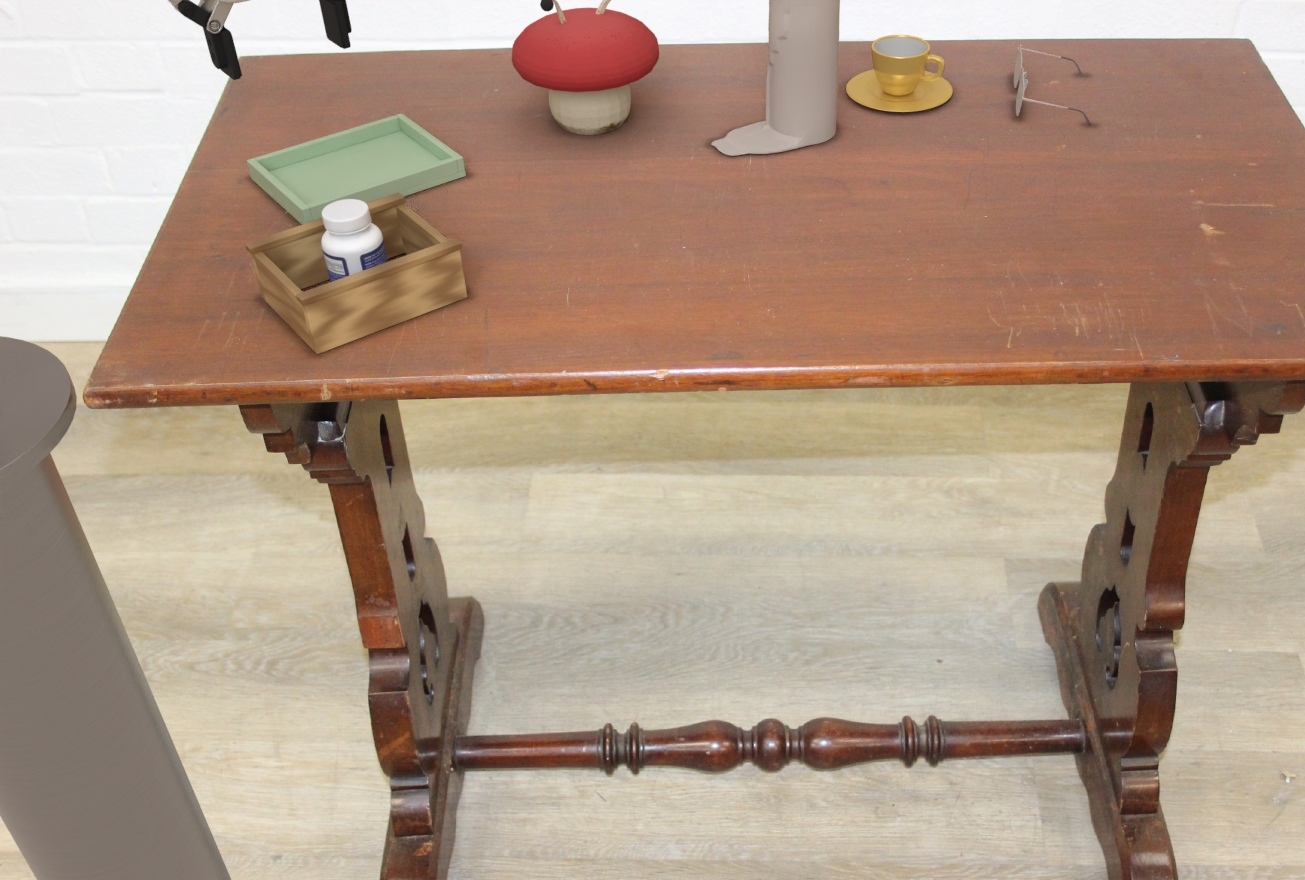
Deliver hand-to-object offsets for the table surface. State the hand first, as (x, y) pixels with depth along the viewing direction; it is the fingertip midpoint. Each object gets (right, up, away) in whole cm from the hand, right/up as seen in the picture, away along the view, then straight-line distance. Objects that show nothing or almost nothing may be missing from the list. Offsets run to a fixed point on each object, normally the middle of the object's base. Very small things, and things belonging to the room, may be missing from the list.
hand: (286, 58), depth 117 cm
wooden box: (+4, -19, +9) cm, 21 cm away
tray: (-2, -4, +27) cm, 28 cm away
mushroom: (+21, +5, +37) cm, 43 cm away
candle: (+41, +2, +33) cm, 53 cm away
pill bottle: (+4, -19, +10) cm, 21 cm away
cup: (+56, +9, +42) cm, 70 cm away
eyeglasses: (+73, +8, +40) cm, 83 cm away
